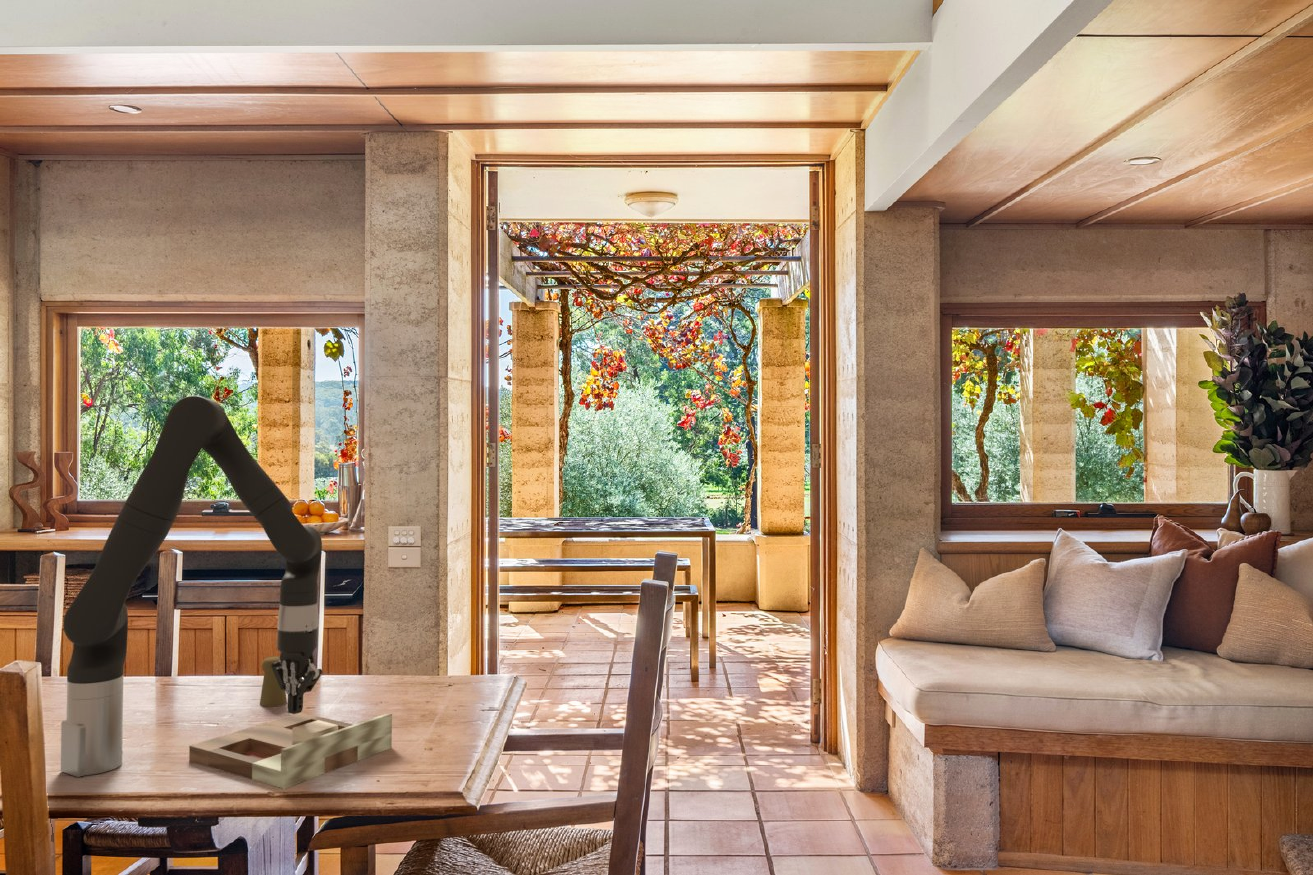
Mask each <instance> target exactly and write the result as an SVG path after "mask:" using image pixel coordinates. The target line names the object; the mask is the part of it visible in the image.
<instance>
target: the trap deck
mask: <svg viewBox="0 0 1313 875" xmlns="http://www.w3.org/2000/svg"><path fill="white" fill-rule="evenodd" d="M317 720H320V721H324V722H328V723H331V724H335V725H338V730H336V731H334V732H331V733H328V734H325V735H322V736H319V737H316V738H313V739H310V740H307V741H304V742H301V743H298V744H295V745H292V728H294V727H297V726H300V725H304V724H307V723H311V722H314V721H317ZM392 735H393V713H389V712H388V713H385V714H381V715H378V716H376V717H371V718H370V719H367V720H364V721H360V722H358V723H355V724H353V723H348V722H344V721H339V720H335V719H332V718H331V719H330V718H327V717H326V718H325V717H322V716H318V715H314V714H309V713H305V712H302V711H301V712H300V713H297V714H290V715H287V716H283V717H280V718H277V719H274V720H270V721H267V722H264V723H263V722H262V723H261V724H258V725H254V726H250V727H248V728H244V729H240V730H238V731H234V732H230V733H226V734H224V735H220V736H217V737H214V738H211V739H207V740H204V741H201V742H197V743H194V744H191V745H189V750H188V752H189V755H188V756H189V757H188V759H189V761H188V762H191V763H195V764H199V765H202V766H205V767H208V768H213V769H215V770H218V769H219V771H221V772H225V773H228V774H233V775H235V776H240V777H242V778H246V779H249V780H251V781H252V780H253V781H256V782H259V783H263V784H267V785H270V786H273V787H277V788H280V789H283V790H285V789H288V788H290V787H294V786H296V785H298V784H300V783H303V782H307V781H309V780H311V779H314V778H316V777H319V776H321V775H324V774H327V773H330V772H333V771H335V770H338V769H340V768H342V767H345V766H347V765H351V764H353V763H356V762H358V761H360V760H361V761H362V760H363V759H367V758H368V757H371V756H373V755H376V754H379V753H383V752H385V751H386V750H389V749H391V748H392V744H393V741H392V740H393V739H392V738H393V737H392Z"/></svg>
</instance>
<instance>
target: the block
mask: <svg viewBox="0 0 1313 875" xmlns="http://www.w3.org/2000/svg"><path fill="white" fill-rule="evenodd" d="M336 730H338V725H335V724H331V723H328V722H324V721H320V720H317V721H314V722H311V723H307V724H304V725H300V726H297V727H294V728H292V745H295V744H298V743H301V742H304V741H307V740H310V739H313V738H316V737H319V736H322V735H325V734H328V733H331V732H334V731H336Z"/></svg>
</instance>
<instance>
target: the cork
mask: <svg viewBox="0 0 1313 875" xmlns="http://www.w3.org/2000/svg"><path fill="white" fill-rule="evenodd" d="M279 660H280V656H271V657H266V658H265V659H264V660H263V661H262V663H261V668H262V670H263V672H264V673H263V680H262V687H261V693H260V698H259V706H260V707H264V708H272V707H280V706H284V705H286V704H288V698H287V695H286V694H287V693H286V691H285V690H281V688H280V686H279V684H278V681H277V679H276V677H275V674H274V672H273V670H272V667H271V664H272V663H275V662H278V661H279ZM283 680H284V678H283Z"/></svg>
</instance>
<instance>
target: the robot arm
mask: <svg viewBox="0 0 1313 875" xmlns="http://www.w3.org/2000/svg"><path fill="white" fill-rule="evenodd" d="M244 444H245V443H243V441H242V439H241V438H240V437H239V435H238V433H237V431H236V429H235V428H234V426H233V424H232V423H231V420H230V419H229V417H228V415H227V413H226V412H225V410H224V408H223V407H222V405H221V404H220V403H218V402H217V401H215V400H213V399H210V398H207V397H205V396H201V395H188V396H185V397H183V398H181V399H178V401H176V402H175V403H174V404H173V405H172V407H171V408H170V409H169V412H168V414H167V416H166V418H165V422H164V424H163V427H162V430H161V432H160V435H159V438H158V440H157V442H156V445H155V447H154V450H153V452H152V454H151V456H150V458H149V460H148V462H147V463H146V465H145V466H144V468H143V470H142V472H141V473H140V475H139V476H138V479H137V480H136V483H135V484H134V486H133V488H132V490H131V492H130V493H129V495H128V497H127V499H126V500H125V502H124V504H123V505H122V507H121V510H120V512H119V513H118V516H117V518H116V519H115V521H114V524H113V526H112V528H111V530H110V533H109V535H108V536H107V539H106V541H105V543H104V545H103V548H102V550H101V553H100V555H99V557H98V559H97V562H96V564H95V566H94V568H93V570H92V572H91V573H90V575H89V577H88V578H87V580H86V581H85V583H84V584H83V586H82V588H81V589H80V591H79V592H78V594H77V595H76V597H75V598H74V600H72V602H71V603H70V605H69V606H68V608H67V610H66V612H65V614H64V617H63V623H62V624H63V625H62V626H63V632H64V634H65V636H66V638H67V639H68V640H69V641H70V642H71V643H72V644H73V646H72V647H73V648H72V652H71V658H70V661H69V662H68V666H67V671H66V719H65V720H62V721H61V725H60V726H61V727H60V772H61V773H64V774H68V775H71V776H74V777H75V778H76V777H77V778H80V777H82V776H83V777H84V776H89V775H97V774H102V773H105V772H108V771H111V770H114V769H116V768H119V767H121V765H122V764H123V753H124V752H123V733H124V732H123V729H124V727H123V726H124V725H123V723H124V722H123V721H124V718H123V717H124V666H125V662H126V660H127V659H126V658H127V652H128V651H127V650H128V631H129V615H128V613H129V612H128V608H127V605H126V600H127V598H128V595H129V593H130V592H131V589H132V587H133V586H134V584H135V582H136V580H137V579H138V577H139V576H140V574H141V573H142V572H143V571H144V570H145V568H146V566H147V565H148V564H149V563H150V562H151V560H152V559H153V558H154V556H155V555H156V553H157V552H158V550H159V549H160V547H161V545H163V543H164V541H165V539H166V538H167V536H168V534H169V532H170V530H171V528H172V526H173V525H174V523H175V520H176V518H177V517H178V514H179V512H180V509H181V506H182V502H183V497H184V494H185V489H186V483H187V480H188V476H189V473H190V471H191V468H192V466H193V464H194V463H195V461H196V459H197V457H198V455H199V454H200V452H201V450H203V451H204V452H205V453H206V454H208V455H209V456H210V458H212V460H214V461H215V463H216V464H217V465H218V467H219V468H220V469H221V470H222V473H223V474H224V475H225V477H226V479H227V480H228V483H229V484H230V486H231V487H232V489H233V491H234V492H235V494H236V495H237V497H238V499H239V500H240V502H242V504H243V506H245V508H246V509H247V510H248V511H249V513H250V514H251V516H253V517H254V519H255V520H256V521H257V522H258V523H259V525H261V527H262V528H263V531H264V533H265V535H266V536H267V537H268V540H269V541H270V543H271V545H272V546H273V548H274V549H275V551H276V552H277V554H279V555H280V557H282V559H284V560H285V572H284V575H283V577H282V578H281V582H280V590H279V608H278V614H277V634H276V635H277V636H276V638H277V639H276V649H277V651H278V652H280V654H279V657H280V660H279V661H278V662H275V663H272V664H271V667H272V670H273V672H274V674H275V677H276V679H277V681H278V684H279V686H280V688H281V690H285V691H286V694H287V713H288V714H290V715H293V714H297V713H300V712H301V713H302V711H303V709H304V694H306V693H309V692H311V691H312V690H313V689H314V687H315V685H316V684H317V682H318V681H319V679H320V677H321V676H322V675H323V670H322V669H321V668H317V666H315V658H314V652H315V650H316V649H317V648H318V633H319V630H318V629H319V610H318V609H319V608H318V595H319V594H318V593H319V592H318V589H319V588H318V578H319V572H320V567H321V560H322V551H323V541H322V537H321V534H320V533H319V532H318V531H317V529H316V528H314V527H312V526H309V525H303V524H302V522H301V521H300V519H298V517H297V516H296V514H295V513H294V511H293V505H292V504H291V502H290V500H289V499H288V498H287V497H286V495H285V494H284V493H283V491H282V490H281V489H280V488H279V487H278V486H277V484H276V483H275V481H274V480H273V479H272V478H271V477H270V476H269V474H267V472H266V471H265V470H264V469H263V468H262V466H261V465H260V464H259V463H258V462H257V460H256V459H255V458H254V456H253V455H252V454H251V453H250V451H249V450H248V448H247V447H246V445H244ZM283 678H284V680H283Z"/></svg>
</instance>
